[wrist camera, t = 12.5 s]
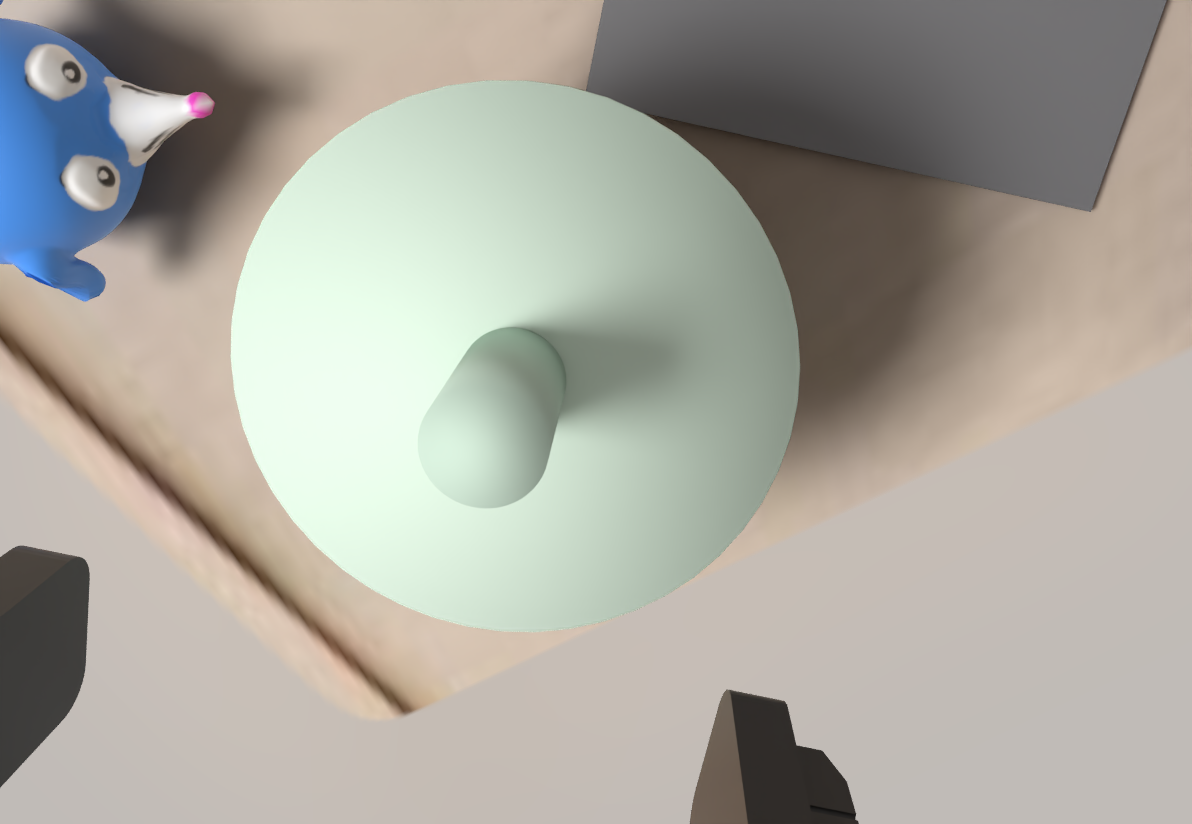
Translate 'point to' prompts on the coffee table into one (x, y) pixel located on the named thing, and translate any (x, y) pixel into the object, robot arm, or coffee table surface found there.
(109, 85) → the blue mole toy
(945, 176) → the mat
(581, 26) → the coffee table surface
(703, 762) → the robot arm
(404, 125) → the lid
